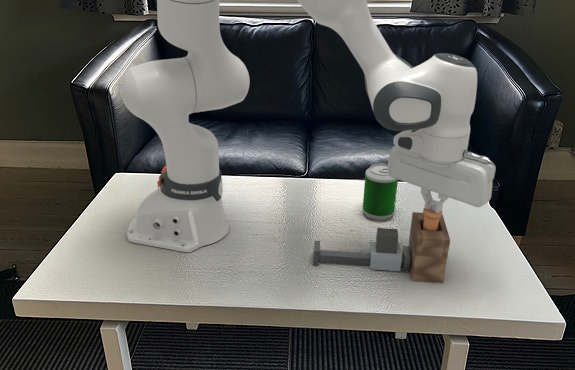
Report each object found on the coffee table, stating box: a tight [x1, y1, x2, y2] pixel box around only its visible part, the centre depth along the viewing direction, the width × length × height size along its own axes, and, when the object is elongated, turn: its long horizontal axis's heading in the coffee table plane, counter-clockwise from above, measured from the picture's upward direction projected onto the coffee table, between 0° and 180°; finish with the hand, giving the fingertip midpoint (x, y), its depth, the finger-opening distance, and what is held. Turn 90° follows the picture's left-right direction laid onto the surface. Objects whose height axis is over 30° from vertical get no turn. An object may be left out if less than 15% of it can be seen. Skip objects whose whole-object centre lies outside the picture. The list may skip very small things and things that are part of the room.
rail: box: [312, 240, 411, 273], centre depth 115 cm, size 19×4×4 cm, turn 84°
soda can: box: [362, 163, 399, 222], centre depth 132 cm, size 8×8×12 cm
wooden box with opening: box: [407, 211, 451, 284], centre depth 113 cm, size 6×10×10 cm, turn 174°
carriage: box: [369, 227, 402, 272], centre depth 114 cm, size 6×5×8 cm
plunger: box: [422, 207, 443, 231], centre depth 111 cm, size 4×4×6 cm
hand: (432, 210), depth 109 cm, fingers closed, pressing on plunger
